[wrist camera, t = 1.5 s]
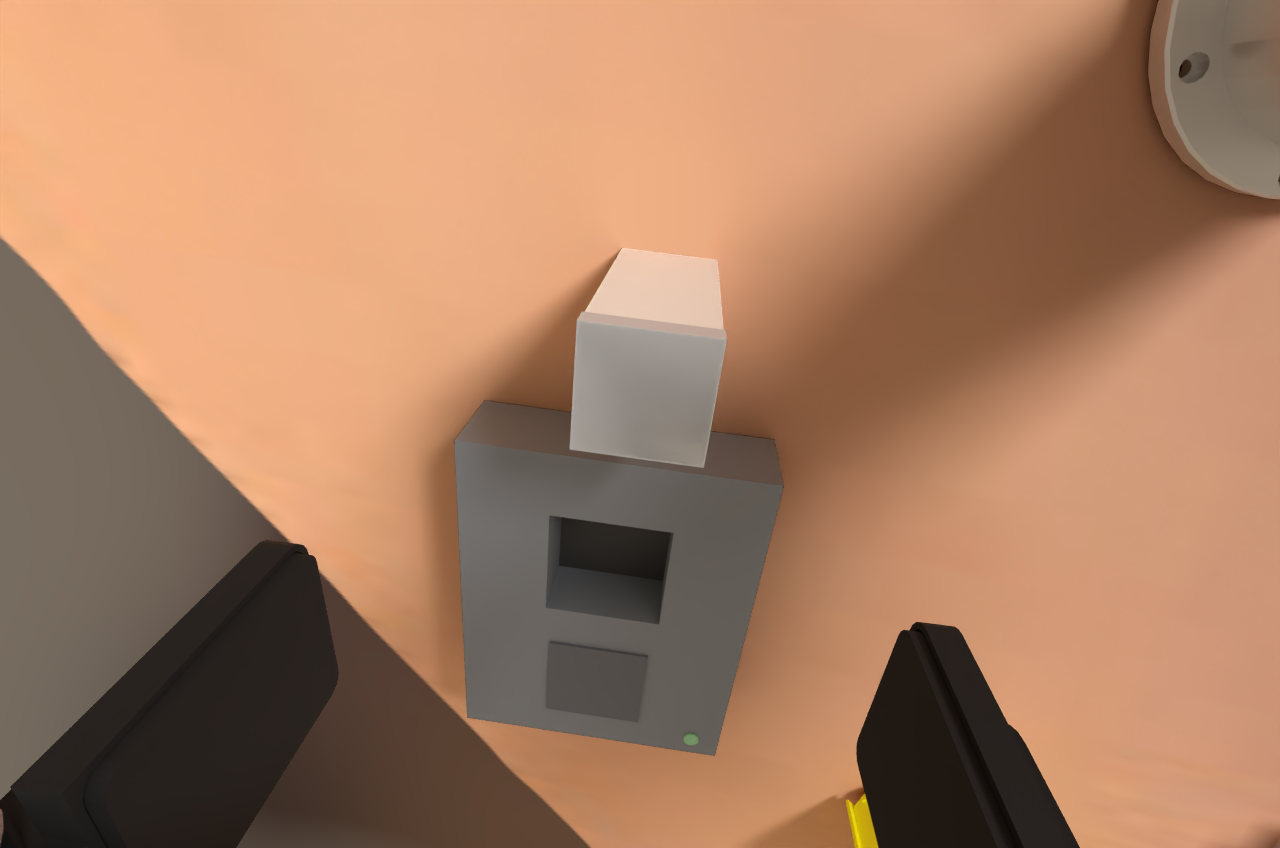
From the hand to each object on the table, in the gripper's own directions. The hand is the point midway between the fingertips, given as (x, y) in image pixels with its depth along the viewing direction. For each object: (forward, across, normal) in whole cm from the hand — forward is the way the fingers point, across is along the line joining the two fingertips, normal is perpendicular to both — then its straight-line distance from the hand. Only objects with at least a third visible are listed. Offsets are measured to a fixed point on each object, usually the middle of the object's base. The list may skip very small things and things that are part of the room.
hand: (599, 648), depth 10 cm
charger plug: (+19, 0, 0) cm, 19 cm away
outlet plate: (+19, +1, +14) cm, 24 cm away
